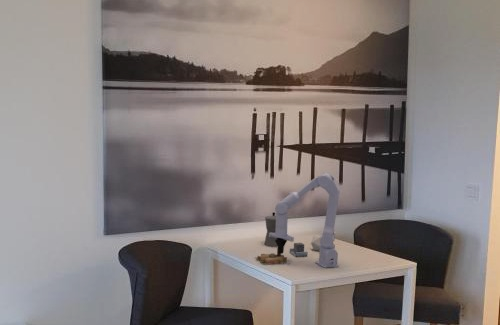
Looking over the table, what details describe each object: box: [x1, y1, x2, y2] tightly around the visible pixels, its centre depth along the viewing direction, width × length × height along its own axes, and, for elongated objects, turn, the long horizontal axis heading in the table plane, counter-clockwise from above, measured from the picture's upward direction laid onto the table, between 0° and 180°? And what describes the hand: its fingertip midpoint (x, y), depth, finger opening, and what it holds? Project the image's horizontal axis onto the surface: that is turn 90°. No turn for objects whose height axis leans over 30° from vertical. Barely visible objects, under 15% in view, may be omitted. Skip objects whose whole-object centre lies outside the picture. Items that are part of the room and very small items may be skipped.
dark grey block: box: [293, 242, 305, 254], centre depth 291 cm, size 4×4×5 cm
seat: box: [289, 247, 309, 258], centre depth 292 cm, size 9×6×2 cm, turn 19°
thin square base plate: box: [254, 256, 290, 266], centre depth 278 cm, size 14×13×1 cm
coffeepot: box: [264, 212, 278, 248], centre depth 310 cm, size 15×9×18 cm, turn 29°
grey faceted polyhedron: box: [310, 234, 323, 252], centre depth 303 cm, size 8×9×10 cm
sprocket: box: [256, 247, 288, 264], centre depth 278 cm, size 14×14×6 cm
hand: (280, 253), depth 280 cm, fingers closed, pressing on sprocket
